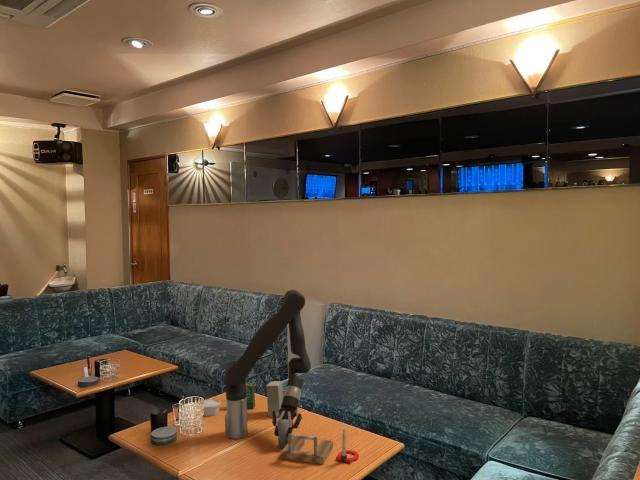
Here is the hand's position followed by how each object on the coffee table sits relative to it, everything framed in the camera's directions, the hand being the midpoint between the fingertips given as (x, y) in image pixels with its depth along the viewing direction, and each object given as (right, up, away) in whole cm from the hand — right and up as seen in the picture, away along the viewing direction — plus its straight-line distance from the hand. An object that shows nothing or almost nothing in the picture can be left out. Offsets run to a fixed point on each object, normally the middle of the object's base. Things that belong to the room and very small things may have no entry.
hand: (282, 436), depth 196 cm
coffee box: (-22, -5, +46) cm, 51 cm away
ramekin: (-41, -5, +40) cm, 57 cm away
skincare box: (-6, -5, +37) cm, 37 cm away
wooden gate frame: (+11, -5, -5) cm, 13 cm away
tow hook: (+28, -5, -9) cm, 30 cm away
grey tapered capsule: (+1, -5, +2) cm, 6 cm away
